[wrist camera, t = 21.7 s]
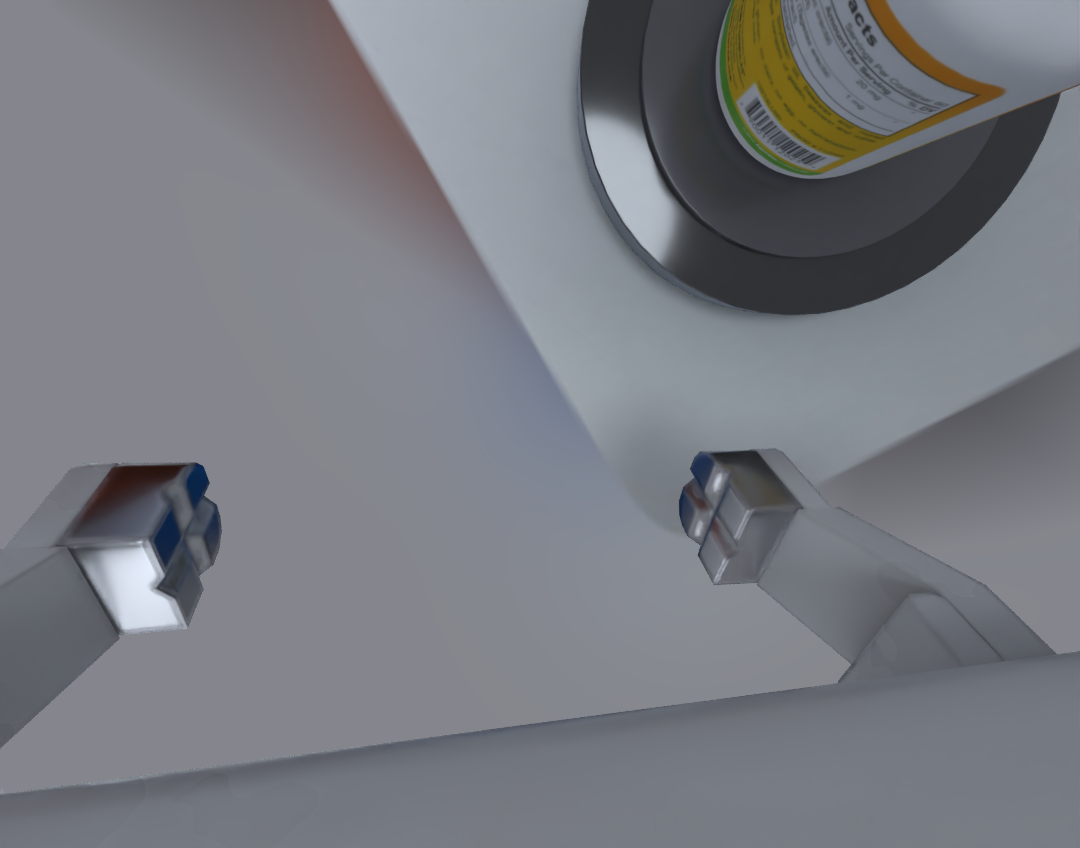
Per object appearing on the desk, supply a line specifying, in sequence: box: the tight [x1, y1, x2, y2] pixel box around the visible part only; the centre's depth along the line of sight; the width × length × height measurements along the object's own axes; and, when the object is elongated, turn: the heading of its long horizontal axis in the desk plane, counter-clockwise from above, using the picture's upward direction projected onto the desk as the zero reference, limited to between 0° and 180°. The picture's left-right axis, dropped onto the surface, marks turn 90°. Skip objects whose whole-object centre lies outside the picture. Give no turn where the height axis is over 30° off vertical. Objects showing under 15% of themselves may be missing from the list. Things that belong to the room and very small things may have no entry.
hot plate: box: [577, 0, 1061, 315], centre depth 14 cm, size 12×12×2 cm
